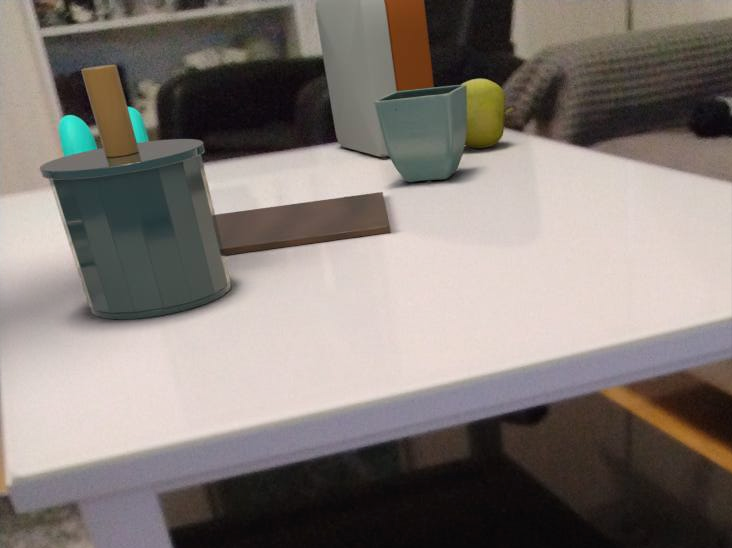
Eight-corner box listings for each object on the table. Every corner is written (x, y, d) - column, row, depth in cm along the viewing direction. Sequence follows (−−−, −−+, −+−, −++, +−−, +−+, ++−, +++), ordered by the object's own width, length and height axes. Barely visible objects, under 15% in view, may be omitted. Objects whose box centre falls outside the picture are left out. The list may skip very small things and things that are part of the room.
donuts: (84, 197, 134) (59, 113, 129) (161, 185, 136) (139, 101, 130) (79, 210, 126) (51, 121, 121) (160, 197, 128) (137, 109, 122)
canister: (78, 327, 81) (32, 185, 75) (105, 289, 90) (66, 160, 85) (224, 306, 81) (189, 164, 75) (236, 271, 91) (206, 142, 85)
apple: (517, 148, 130) (511, 77, 126) (446, 156, 131) (438, 86, 126) (515, 139, 137) (510, 71, 132) (448, 147, 137) (440, 80, 133)
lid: (26, 196, 75) (-10, 85, 71) (64, 168, 85) (34, 71, 81) (197, 173, 75) (171, 62, 71) (214, 148, 86) (192, 50, 82)
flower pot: (405, 173, 124) (394, 90, 119) (475, 167, 122) (467, 83, 117) (385, 188, 117) (372, 100, 112) (459, 183, 115) (450, 93, 110)
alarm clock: (443, 148, 137) (422, -35, 125) (382, 160, 134) (355, -26, 122) (392, 137, 151) (369, -29, 139) (336, 147, 148) (308, -21, 137)
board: (181, 261, 97) (179, 254, 96) (202, 222, 112) (200, 216, 111) (390, 232, 97) (389, 225, 97) (383, 197, 112) (382, 191, 112)
